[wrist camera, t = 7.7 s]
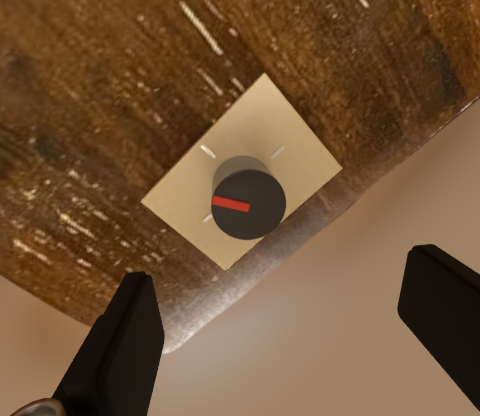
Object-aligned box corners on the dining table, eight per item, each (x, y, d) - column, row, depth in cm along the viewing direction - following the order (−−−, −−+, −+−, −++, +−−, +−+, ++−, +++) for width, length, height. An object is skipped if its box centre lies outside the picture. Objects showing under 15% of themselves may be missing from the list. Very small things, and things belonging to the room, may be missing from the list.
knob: (279, 164, 22) (298, 181, 17) (261, 218, 23) (273, 249, 18) (220, 148, 21) (221, 161, 16) (206, 205, 22) (203, 234, 17)
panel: (224, 254, 28) (225, 272, 25) (148, 190, 25) (139, 202, 22) (328, 161, 25) (343, 169, 22) (258, 76, 22) (265, 71, 19)
